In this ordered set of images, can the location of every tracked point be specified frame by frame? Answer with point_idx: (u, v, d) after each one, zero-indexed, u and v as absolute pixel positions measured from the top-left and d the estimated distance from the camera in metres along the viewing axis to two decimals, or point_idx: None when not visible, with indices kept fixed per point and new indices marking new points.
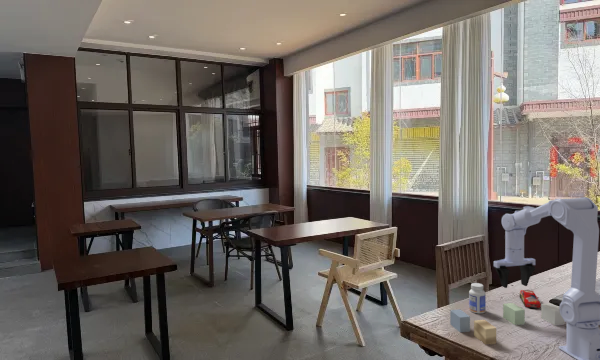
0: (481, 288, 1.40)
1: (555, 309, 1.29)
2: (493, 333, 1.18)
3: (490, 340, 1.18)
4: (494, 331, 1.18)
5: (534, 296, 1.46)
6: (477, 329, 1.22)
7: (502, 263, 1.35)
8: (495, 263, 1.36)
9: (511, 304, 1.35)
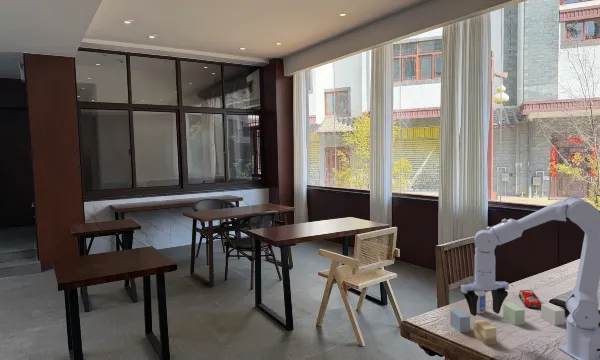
0: None
1: (555, 309, 1.29)
2: (493, 333, 1.18)
3: (490, 340, 1.18)
4: (494, 331, 1.18)
5: (534, 296, 1.46)
6: (477, 329, 1.22)
7: (470, 288, 1.18)
8: (462, 288, 1.19)
9: (511, 304, 1.35)
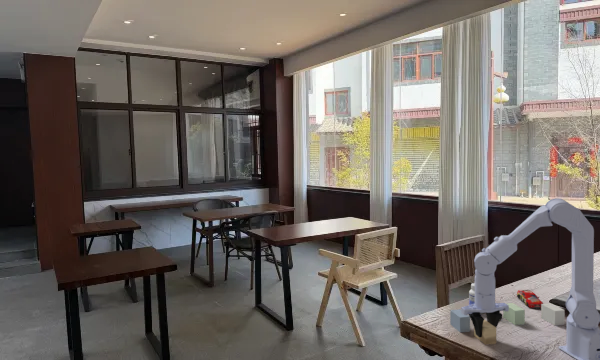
0: None
1: (555, 309, 1.29)
2: (493, 333, 1.18)
3: (490, 339, 1.18)
4: (494, 331, 1.18)
5: (535, 296, 1.46)
6: None
7: (470, 310, 1.18)
8: (462, 310, 1.19)
9: (511, 304, 1.35)
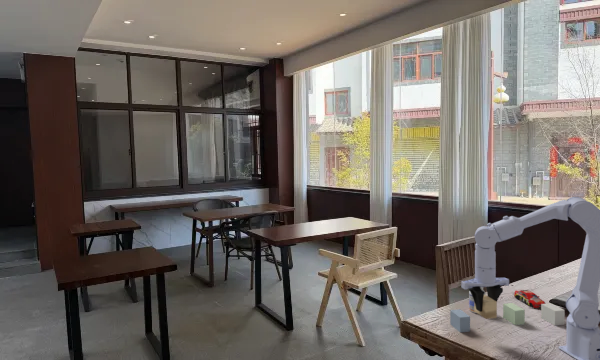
0: (481, 288, 1.40)
1: (555, 309, 1.29)
2: (494, 307, 1.18)
3: (490, 313, 1.17)
4: (494, 305, 1.17)
5: (535, 296, 1.46)
6: None
7: (471, 284, 1.18)
8: (463, 284, 1.19)
9: (511, 304, 1.35)
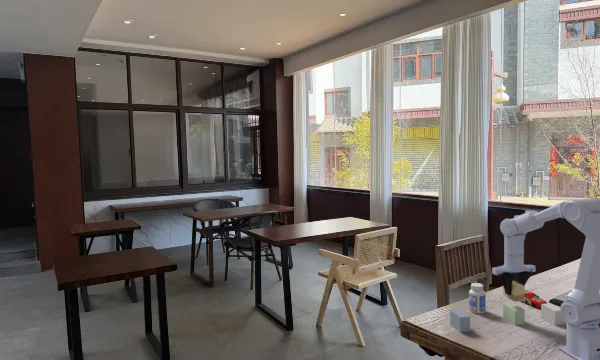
0: (481, 288, 1.40)
1: (555, 309, 1.29)
2: (522, 291, 1.30)
3: (519, 296, 1.30)
4: (523, 289, 1.30)
5: (536, 295, 1.46)
6: None
7: (501, 270, 1.30)
8: (494, 270, 1.31)
9: (511, 304, 1.35)
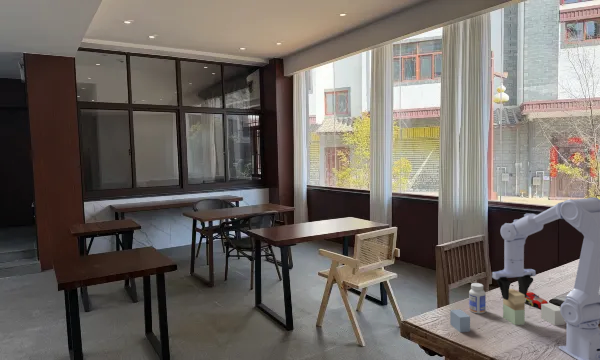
0: (481, 288, 1.40)
1: (555, 309, 1.29)
2: (522, 300, 1.30)
3: (519, 305, 1.30)
4: (523, 298, 1.30)
5: (536, 295, 1.47)
6: None
7: (501, 274, 1.30)
8: (494, 274, 1.31)
9: None
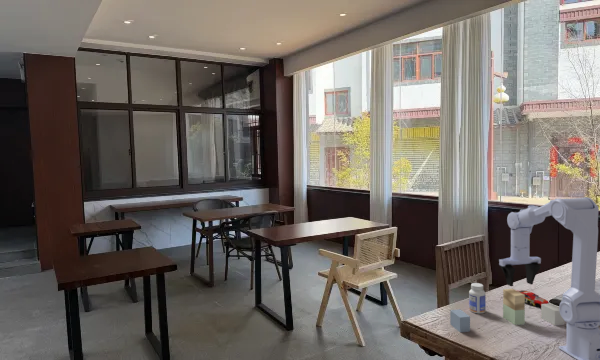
0: (481, 288, 1.40)
1: (555, 309, 1.29)
2: (522, 300, 1.30)
3: (519, 305, 1.30)
4: (523, 298, 1.30)
5: (536, 295, 1.47)
6: (506, 297, 1.34)
7: (508, 261, 1.36)
8: (501, 261, 1.36)
9: None
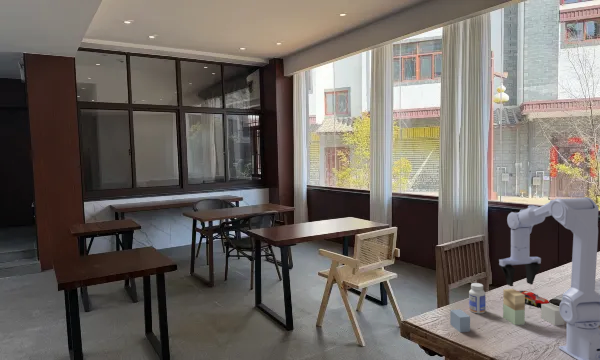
0: (481, 288, 1.40)
1: (555, 309, 1.29)
2: (522, 300, 1.30)
3: (519, 305, 1.30)
4: (523, 298, 1.30)
5: (536, 295, 1.47)
6: (506, 297, 1.34)
7: (508, 261, 1.36)
8: (501, 261, 1.36)
9: None
